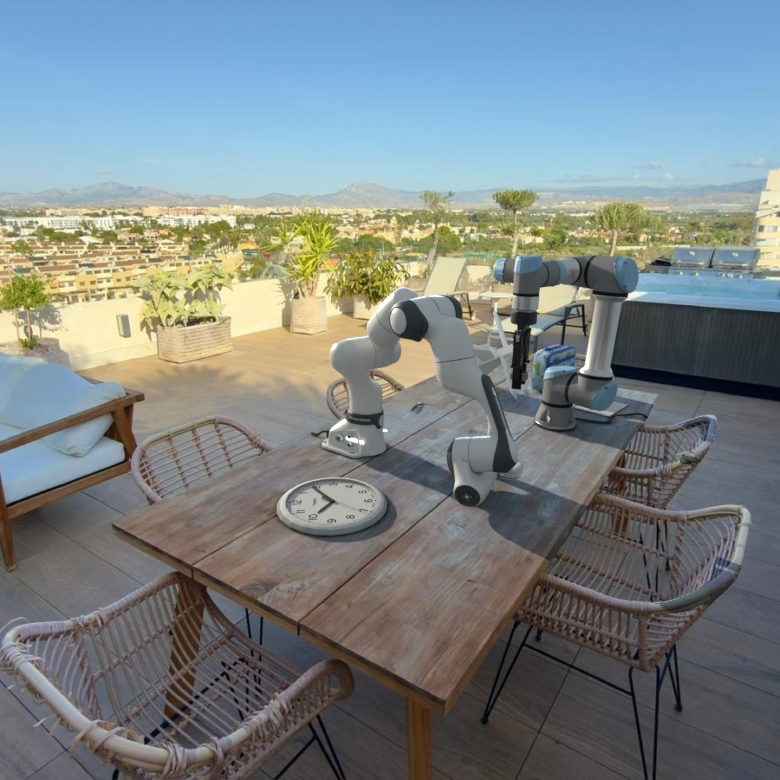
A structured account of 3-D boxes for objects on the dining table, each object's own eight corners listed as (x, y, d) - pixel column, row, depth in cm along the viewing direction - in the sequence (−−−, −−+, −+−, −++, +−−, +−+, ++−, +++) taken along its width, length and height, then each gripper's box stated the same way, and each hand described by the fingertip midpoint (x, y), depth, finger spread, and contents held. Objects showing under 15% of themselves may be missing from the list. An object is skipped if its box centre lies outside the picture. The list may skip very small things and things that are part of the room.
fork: (408, 411, 216) (408, 407, 215) (419, 400, 230) (419, 396, 229) (414, 412, 215) (414, 407, 214) (425, 401, 229) (425, 396, 229)
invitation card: (608, 416, 214) (573, 407, 224) (608, 416, 214) (573, 408, 224) (628, 404, 229) (594, 396, 238) (628, 405, 229) (594, 397, 238)
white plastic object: (461, 429, 252) (437, 405, 227) (444, 352, 274) (420, 323, 250) (535, 404, 240) (518, 377, 215) (510, 326, 262) (492, 293, 237)
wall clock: (392, 527, 129) (268, 531, 127) (391, 533, 130) (269, 537, 127) (383, 473, 158) (282, 475, 155) (383, 478, 158) (282, 480, 156)
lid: (529, 377, 160) (529, 370, 159) (525, 382, 155) (526, 374, 155) (512, 375, 162) (512, 368, 161) (508, 380, 157) (508, 372, 157)
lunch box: (547, 397, 237) (552, 352, 231) (526, 391, 245) (531, 348, 238) (574, 386, 255) (580, 344, 249) (554, 381, 262) (559, 340, 256)
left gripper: (519, 469, 145) (528, 451, 157) (449, 455, 153) (463, 439, 165) (517, 489, 147) (526, 470, 159) (448, 475, 155) (461, 457, 167)
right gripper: (518, 304, 161) (512, 377, 169) (504, 313, 146) (498, 393, 153) (543, 306, 158) (536, 380, 165) (531, 316, 143) (524, 396, 150)
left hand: (493, 454), depth 162 cm, fingers closed on jar, 4 cm apart
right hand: (518, 386), depth 159 cm, fingers closed on lid, 5 cm apart
